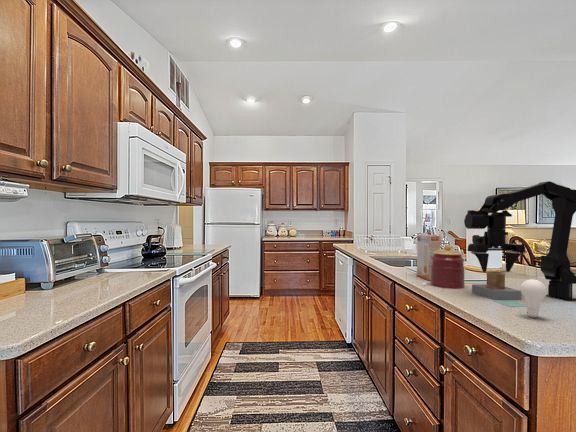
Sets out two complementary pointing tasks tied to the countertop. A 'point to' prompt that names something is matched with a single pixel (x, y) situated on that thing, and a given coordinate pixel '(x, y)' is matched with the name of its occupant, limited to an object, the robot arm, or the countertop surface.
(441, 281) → the canister
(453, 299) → the countertop surface
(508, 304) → the mat
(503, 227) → the robot arm
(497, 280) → the plug
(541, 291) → the lightbulb
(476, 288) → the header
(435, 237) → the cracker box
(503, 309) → the countertop surface
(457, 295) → the countertop surface
